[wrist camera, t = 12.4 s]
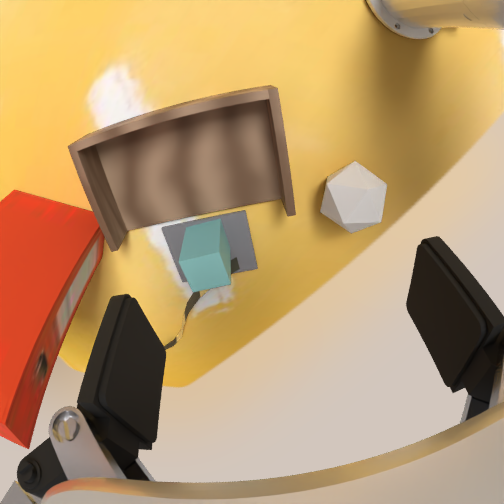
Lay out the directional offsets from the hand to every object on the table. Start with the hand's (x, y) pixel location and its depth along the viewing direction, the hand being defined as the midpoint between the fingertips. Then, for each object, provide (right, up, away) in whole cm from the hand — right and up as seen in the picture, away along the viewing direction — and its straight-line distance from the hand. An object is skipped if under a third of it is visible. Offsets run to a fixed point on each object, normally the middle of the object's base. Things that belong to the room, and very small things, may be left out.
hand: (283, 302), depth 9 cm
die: (+12, +11, +31) cm, 35 cm away
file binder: (-31, +6, +30) cm, 44 cm away
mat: (-7, +2, +35) cm, 36 cm away
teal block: (-7, +4, +33) cm, 34 cm away
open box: (-9, +13, +28) cm, 32 cm away
